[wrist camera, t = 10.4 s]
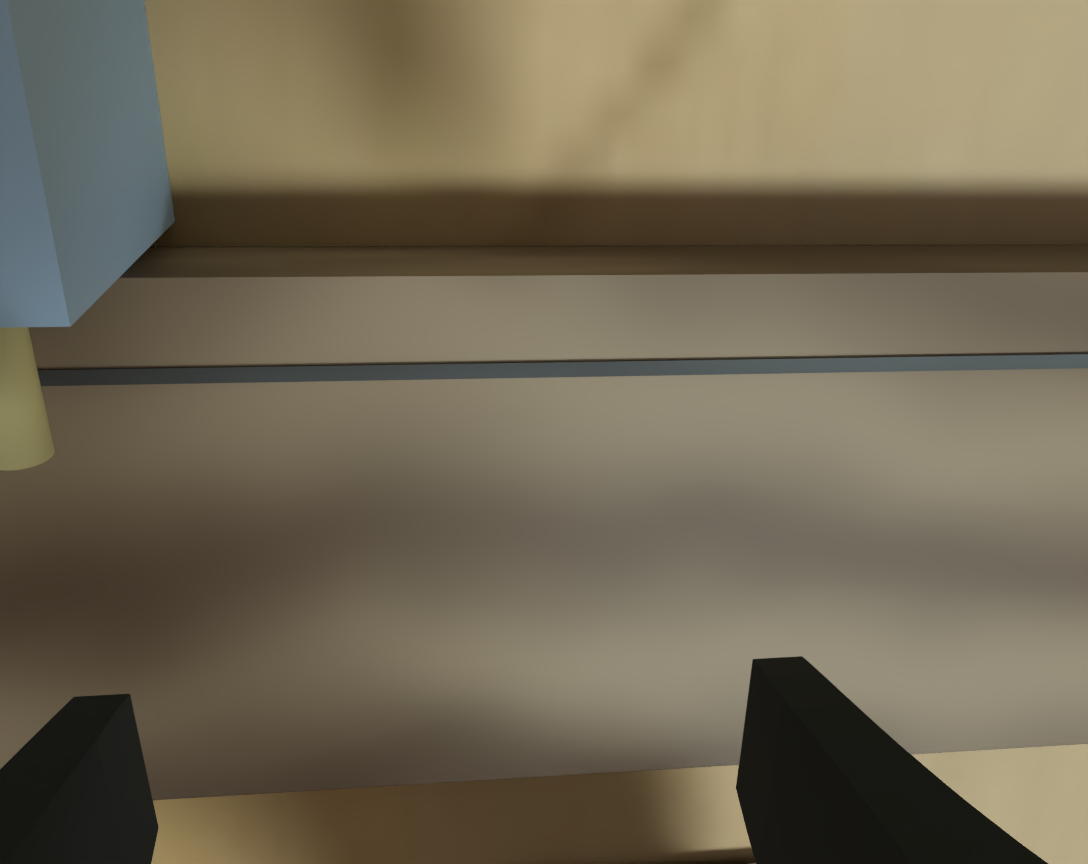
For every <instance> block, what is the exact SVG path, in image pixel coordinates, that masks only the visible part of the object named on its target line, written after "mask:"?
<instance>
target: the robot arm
mask: <svg viewBox="0 0 1088 864" xmlns="http://www.w3.org/2000/svg"><path fill="white" fill-rule="evenodd" d="M736 789H737V793H738V797H739V801H740V805H741V809H742V813H743V817H744V821H745V825H746V829H747V833H748V836H749V840H750V843H751V847H752V851H753V854H754V858H755V861H756V863H750V864H1048V863H1046V862H1045V861H1044V860H1042V859H1041V858H1040V857H1038V856H1037V855H1035V854H1034V853H1033V852H1031V851H1030V850H1029V849H1027V848H1026V847H1024V846H1023V845H1022V844H1020V843H1019V842H1018V841H1016V840H1015V839H1014V838H1013V837H1011V836H1010V835H1009V834H1007V833H1006V832H1005V831H1004V830H1002V829H1001V828H1000V827H998V826H997V825H996V824H995V823H993V822H992V821H991V820H989V819H988V818H987V817H986V816H984V815H983V814H982V813H981V812H979V811H978V810H977V809H975V808H974V807H973V806H972V805H970V804H969V803H968V802H967V801H965V800H964V799H963V798H962V797H960V796H959V795H958V794H957V793H956V792H954V791H953V790H952V789H951V788H950V787H948V786H947V785H946V784H945V783H943V782H942V781H941V780H940V779H939V778H937V777H936V776H935V775H934V774H933V773H932V772H930V771H929V770H928V769H927V768H926V767H925V766H923V765H922V764H921V763H920V762H919V761H918V760H916V759H915V758H914V757H913V756H912V755H911V754H910V753H908V752H907V751H906V750H905V749H904V748H903V747H902V746H900V745H899V744H898V743H897V742H896V741H895V740H894V739H893V738H891V737H890V736H889V735H888V734H887V733H886V732H885V731H884V730H882V729H881V728H880V727H879V726H878V725H877V724H876V723H875V722H874V721H873V720H872V719H870V718H869V717H868V716H867V715H866V714H865V713H864V712H863V711H862V710H861V709H859V708H858V707H857V706H856V705H855V704H854V703H853V702H852V701H851V700H850V699H849V698H847V697H846V696H845V695H844V694H843V693H842V692H841V691H840V690H839V689H838V688H837V687H836V686H834V685H833V684H832V683H831V682H830V681H829V680H828V679H827V678H826V677H825V676H824V675H823V674H821V673H820V672H819V671H818V670H817V669H816V668H815V667H814V666H813V665H812V664H810V663H809V662H808V661H807V660H806V659H805V658H804V657H802V656H798V657H780V658H762V659H753V661H752V669H751V676H750V684H749V692H748V700H747V707H746V715H745V723H744V731H743V738H742V746H741V754H740V762H739V769H738V777H737V785H736ZM157 832H158V824H157V819H156V814H155V809H154V805H153V800H152V795H151V790H150V786H149V781H148V776H147V772H146V767H145V762H144V757H143V753H142V748H141V743H140V738H139V734H138V729H137V724H136V720H135V715H134V710H133V705H132V701H131V696H130V694H114V695H96V696H78V697H73V698H72V699H71V700H70V701H69V702H68V703H67V704H66V705H65V706H64V707H63V708H62V709H61V710H60V711H59V712H58V713H57V714H56V715H54V716H53V717H52V718H51V719H50V720H49V721H48V722H47V723H46V724H45V725H44V726H43V727H42V728H41V729H40V730H39V731H38V732H37V733H36V734H35V735H34V736H33V737H32V738H31V739H30V740H29V741H28V742H27V743H26V744H25V745H24V746H23V747H22V748H21V749H20V750H19V751H18V752H17V753H16V754H15V755H14V756H13V757H12V758H11V759H10V760H9V761H8V762H7V763H6V764H5V765H4V766H3V767H2V768H1V769H0V864H151V861H152V856H153V851H154V846H155V841H156V837H157Z"/></svg>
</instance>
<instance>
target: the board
mask: <svg viewBox="0 0 1088 864" xmlns="http://www.w3.org/2000/svg"><path fill="white" fill-rule="evenodd" d="M28 329H29V334H30V338H31V343H32V348H33V352H34V357H35V362H36V366H37V371H38V376H39V380H40V385H41V390H42V394H43V399H44V404H45V408H46V413H47V418H48V422H49V427H50V432H51V436H52V441H53V446H54V450H55V453H54V455H53V456H52V457H51V458H50V459H49V460H47V461H46V462H44V463H42V464H39V465H37V466H34V467H30V468H26V469H21V470H11V471H4V470H0V769H1V768H2V767H3V766H4V765H5V764H6V763H7V762H8V761H9V760H10V759H11V758H12V757H13V756H14V755H15V754H16V753H17V752H18V751H19V750H20V749H21V748H22V747H23V746H24V745H25V744H26V743H27V742H28V741H29V740H30V739H31V738H32V737H33V736H34V735H35V734H36V733H37V732H38V731H39V730H40V729H41V728H42V727H43V726H44V725H45V724H46V723H47V722H48V721H49V720H50V719H51V718H52V717H53V716H54V715H56V714H57V713H58V712H59V711H60V710H61V709H62V708H63V707H64V706H65V705H66V704H67V703H68V702H69V701H70V700H71V699H72V698H73V697H78V696H96V695H114V694H130V696H131V701H132V705H133V710H134V715H135V720H136V724H137V729H138V734H139V738H140V743H141V748H142V753H143V757H144V762H145V767H146V772H147V776H148V781H149V786H150V790H151V795H152V800H164V799H180V798H197V797H213V796H230V795H246V794H263V793H280V792H296V791H313V790H329V789H346V788H362V787H379V786H396V785H412V784H429V783H445V782H462V781H478V780H495V779H511V778H528V777H545V776H561V775H578V774H594V773H611V772H627V771H644V770H661V769H677V768H694V767H710V766H727V765H739V762H740V754H741V746H742V738H743V731H744V723H745V715H746V707H747V700H748V692H749V684H750V676H751V669H752V661H753V659H762V658H780V657H798V656H802V657H804V658H805V659H806V660H807V661H808V662H809V663H810V664H812V665H813V666H814V667H815V668H816V669H817V670H818V671H819V672H820V673H821V674H823V675H824V676H825V677H826V678H827V679H828V680H829V681H830V682H831V683H832V684H833V685H834V686H836V687H837V688H838V689H839V690H840V691H841V692H842V693H843V694H844V695H845V696H846V697H847V698H849V699H850V700H851V701H852V702H853V703H854V704H855V705H856V706H857V707H858V708H859V709H861V710H862V711H863V712H864V713H865V714H866V715H867V716H868V717H869V718H870V719H872V720H873V721H874V722H875V723H876V724H877V725H878V726H879V727H880V728H881V729H882V730H884V731H885V732H886V733H887V734H888V735H889V736H890V737H891V738H893V739H894V740H895V741H896V742H897V743H898V744H899V745H900V746H902V747H903V748H904V749H905V750H906V751H907V752H908V753H910V754H925V753H942V752H959V751H975V750H992V749H1008V748H1025V747H1041V746H1058V745H1075V744H1088V245H855V246H512V247H168V248H148V249H147V250H146V251H145V252H144V253H143V254H142V255H141V256H140V257H139V258H138V259H137V260H136V261H135V262H134V263H133V264H132V265H131V266H130V267H129V268H128V269H127V270H126V271H125V272H124V273H123V274H122V275H121V276H120V277H119V278H118V279H117V280H116V281H115V282H114V283H113V284H112V285H111V286H110V287H109V288H108V289H107V290H106V291H105V292H104V293H103V294H102V295H101V296H100V297H99V298H98V299H97V300H96V301H95V303H94V304H93V305H92V306H91V307H90V308H89V309H88V310H87V311H86V312H85V313H84V314H83V315H82V316H81V317H80V318H79V319H78V320H77V321H76V322H75V323H74V324H73V325H72V326H71V327H28Z"/></svg>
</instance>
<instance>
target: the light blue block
mask: <svg viewBox="0 0 1088 864" xmlns="http://www.w3.org/2000/svg"><path fill="white" fill-rule="evenodd" d="M174 222H175V217H174V210H173V203H172V196H171V189H170V181H169V174H168V167H167V160H166V153H165V145H164V138H163V131H162V124H161V117H160V109H159V102H158V95H157V88H156V81H155V73H154V66H153V59H152V52H151V45H150V38H149V30H148V23H147V16H146V9H145V2H144V0H0V470H4V471H11V470H21V469H26V468H30V467H34V466H37V465H39V464H42V463H44V462H46V461H47V460H49V459H50V458H51V457H52V456H53V455H54V453H55V450H54V446H53V441H52V436H51V432H50V427H49V422H48V418H47V413H46V408H45V404H44V399H43V394H42V390H41V385H40V380H39V376H38V371H37V366H36V362H35V357H34V352H33V348H32V343H31V338H30V334H29V329H28V327H71V326H72V325H73V324H74V323H75V322H76V321H77V320H78V319H79V318H80V317H81V316H82V315H83V314H84V313H85V312H86V311H87V310H88V309H89V308H90V307H91V306H92V305H93V304H94V303H95V301H96V300H97V299H98V298H99V297H100V296H101V295H102V294H103V293H104V292H105V291H106V290H107V289H108V288H109V287H110V286H111V285H112V284H113V283H114V282H115V281H116V280H117V279H118V278H119V277H120V276H121V275H122V274H123V273H124V272H125V271H126V270H127V269H128V268H129V267H130V266H131V265H132V264H133V263H134V262H135V261H136V260H137V259H138V258H139V257H140V256H141V255H142V254H143V253H144V252H145V251H146V250H147V249H148V248H149V247H150V246H151V245H152V244H153V243H154V242H155V241H156V240H157V239H158V238H159V237H160V236H161V235H162V234H163V233H164V232H165V231H166V230H167V229H168V228H169V227H170V226H171V225H172V224H173V223H174Z"/></svg>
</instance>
